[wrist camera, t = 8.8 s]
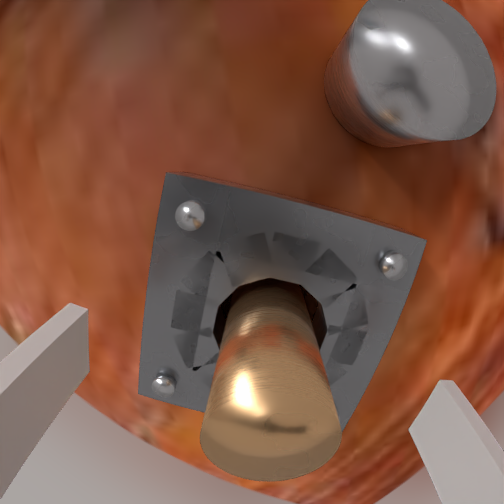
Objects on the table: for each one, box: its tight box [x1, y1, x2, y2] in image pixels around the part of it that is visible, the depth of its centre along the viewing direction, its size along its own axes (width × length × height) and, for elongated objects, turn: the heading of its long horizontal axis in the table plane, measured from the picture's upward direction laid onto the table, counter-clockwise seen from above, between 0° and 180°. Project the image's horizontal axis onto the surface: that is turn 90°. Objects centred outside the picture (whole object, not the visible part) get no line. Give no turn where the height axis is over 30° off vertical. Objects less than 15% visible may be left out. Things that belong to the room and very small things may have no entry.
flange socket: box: [138, 172, 427, 432], centre depth 16 cm, size 12×12×4 cm
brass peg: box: [200, 278, 342, 481], centre depth 13 cm, size 4×4×10 cm
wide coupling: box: [324, 0, 496, 147], centre depth 11 cm, size 6×6×6 cm
